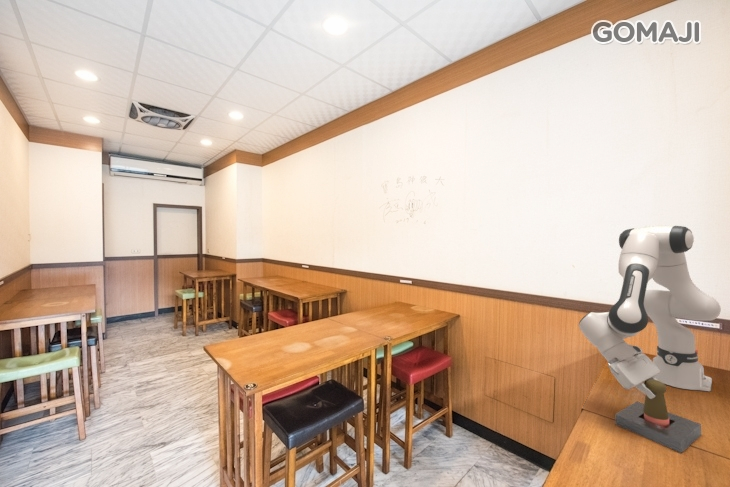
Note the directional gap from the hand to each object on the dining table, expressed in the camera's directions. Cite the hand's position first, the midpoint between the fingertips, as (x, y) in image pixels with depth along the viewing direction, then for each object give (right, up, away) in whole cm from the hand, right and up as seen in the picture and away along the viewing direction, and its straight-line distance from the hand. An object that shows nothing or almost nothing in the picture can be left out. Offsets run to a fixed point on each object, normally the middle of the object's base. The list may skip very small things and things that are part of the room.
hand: (657, 395), depth 97 cm
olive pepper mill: (0, -7, +1) cm, 7 cm away
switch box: (0, -12, +1) cm, 12 cm away
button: (0, -11, +1) cm, 11 cm away
